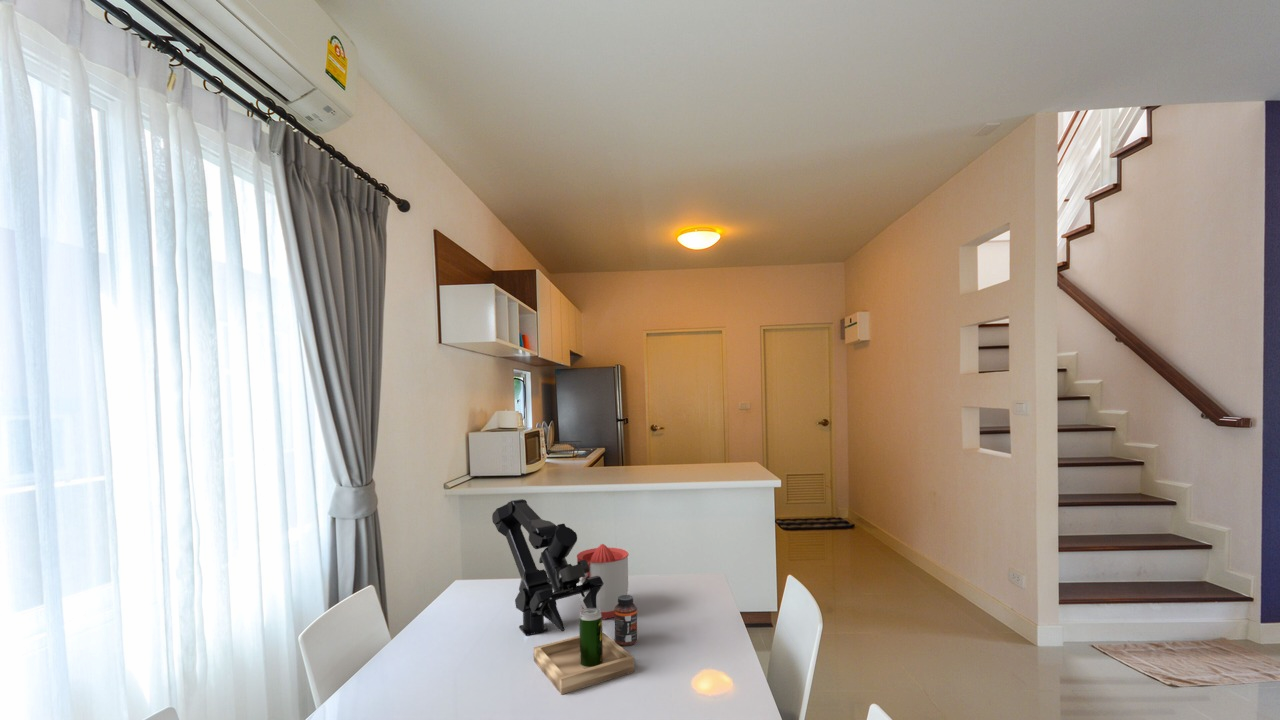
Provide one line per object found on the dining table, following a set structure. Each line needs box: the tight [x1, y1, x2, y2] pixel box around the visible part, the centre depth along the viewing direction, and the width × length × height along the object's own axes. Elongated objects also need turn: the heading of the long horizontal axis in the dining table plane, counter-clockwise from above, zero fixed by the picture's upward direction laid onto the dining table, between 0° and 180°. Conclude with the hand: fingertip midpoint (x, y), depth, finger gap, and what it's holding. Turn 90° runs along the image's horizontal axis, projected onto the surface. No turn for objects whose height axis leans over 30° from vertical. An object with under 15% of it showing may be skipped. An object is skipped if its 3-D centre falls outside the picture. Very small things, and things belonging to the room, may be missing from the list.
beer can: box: [578, 608, 603, 669], centre depth 127 cm, size 5×5×12 cm
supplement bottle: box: [614, 594, 638, 647], centre depth 141 cm, size 6×6×11 cm
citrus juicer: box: [576, 543, 629, 620], centre depth 161 cm, size 16×17×20 cm
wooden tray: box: [533, 631, 635, 695], centre depth 128 cm, size 18×18×3 cm
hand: (580, 625), depth 131 cm, fingers open, 9 cm apart
